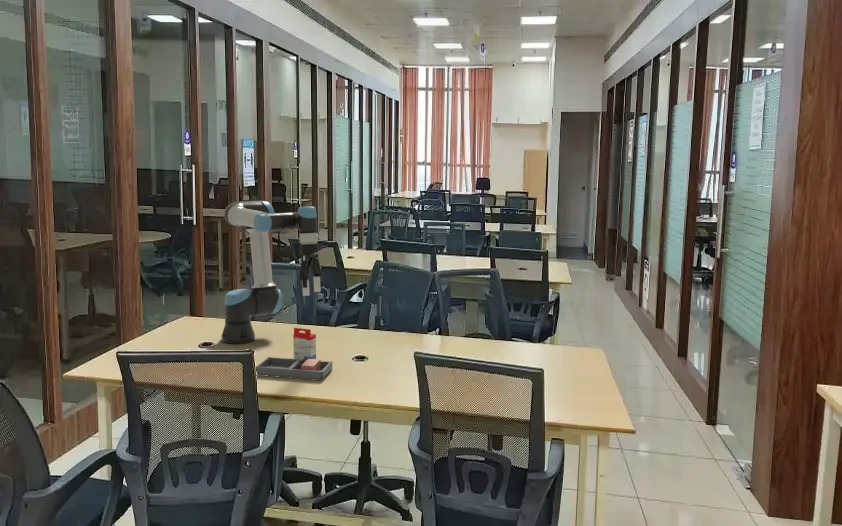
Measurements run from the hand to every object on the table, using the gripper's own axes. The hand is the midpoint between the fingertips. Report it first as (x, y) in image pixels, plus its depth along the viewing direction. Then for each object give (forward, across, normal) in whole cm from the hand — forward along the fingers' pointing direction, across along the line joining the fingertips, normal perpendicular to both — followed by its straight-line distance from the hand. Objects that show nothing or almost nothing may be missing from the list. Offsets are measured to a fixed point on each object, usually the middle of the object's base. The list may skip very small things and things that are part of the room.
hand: (311, 293), depth 288 cm
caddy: (+30, -17, +3) cm, 34 cm away
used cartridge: (+30, -17, -4) cm, 35 cm away
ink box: (+29, -1, +5) cm, 29 cm away
